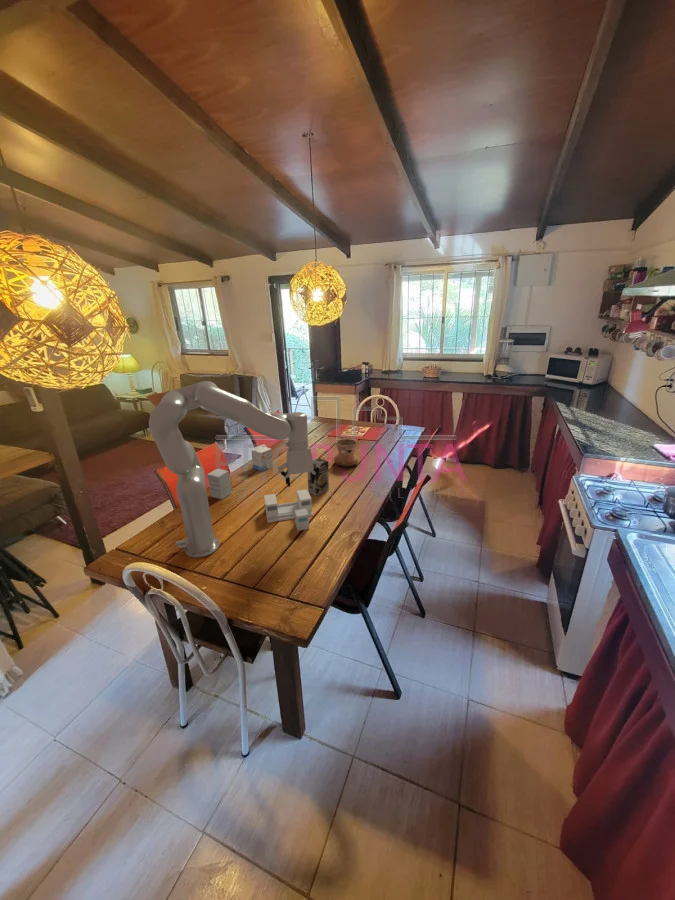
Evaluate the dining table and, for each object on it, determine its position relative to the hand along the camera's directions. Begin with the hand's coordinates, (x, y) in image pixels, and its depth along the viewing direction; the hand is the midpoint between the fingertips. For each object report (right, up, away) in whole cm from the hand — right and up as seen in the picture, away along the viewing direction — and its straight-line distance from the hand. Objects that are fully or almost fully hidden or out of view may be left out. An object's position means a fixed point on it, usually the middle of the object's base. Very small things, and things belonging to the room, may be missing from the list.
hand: (300, 483), depth 140 cm
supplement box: (-44, -9, +34) cm, 56 cm away
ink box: (-29, +3, +65) cm, 71 cm away
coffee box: (+5, -7, +37) cm, 38 cm away
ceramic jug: (+20, +5, +69) cm, 72 cm away
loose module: (0, -19, +8) cm, 20 cm away
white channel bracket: (-8, -15, +18) cm, 25 cm away
